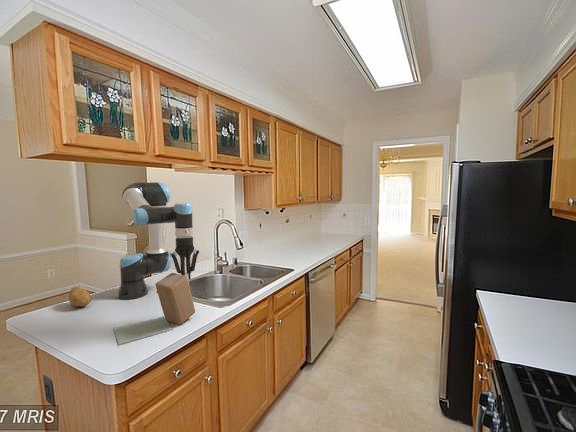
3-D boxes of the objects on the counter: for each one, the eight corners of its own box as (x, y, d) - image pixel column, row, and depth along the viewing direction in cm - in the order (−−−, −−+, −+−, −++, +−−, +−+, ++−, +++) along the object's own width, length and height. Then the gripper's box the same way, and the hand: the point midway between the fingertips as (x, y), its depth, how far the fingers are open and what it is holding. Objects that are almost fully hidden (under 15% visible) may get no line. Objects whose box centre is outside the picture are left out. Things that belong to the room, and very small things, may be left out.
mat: (113, 329, 123) (113, 328, 123) (163, 317, 135) (163, 316, 135) (118, 345, 110) (118, 344, 110) (172, 330, 122) (172, 329, 122)
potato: (73, 313, 140) (72, 294, 139) (66, 304, 150) (65, 287, 150) (94, 307, 146) (92, 289, 146) (85, 300, 157) (84, 283, 156)
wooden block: (164, 320, 130) (153, 283, 123) (181, 307, 138) (172, 271, 131) (180, 326, 125) (169, 288, 118) (196, 312, 133) (187, 275, 126)
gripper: (171, 239, 123) (174, 292, 125) (201, 236, 131) (202, 286, 133) (167, 237, 129) (169, 287, 131) (195, 234, 137) (197, 282, 139)
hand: (186, 286), depth 132 cm, fingers closed
